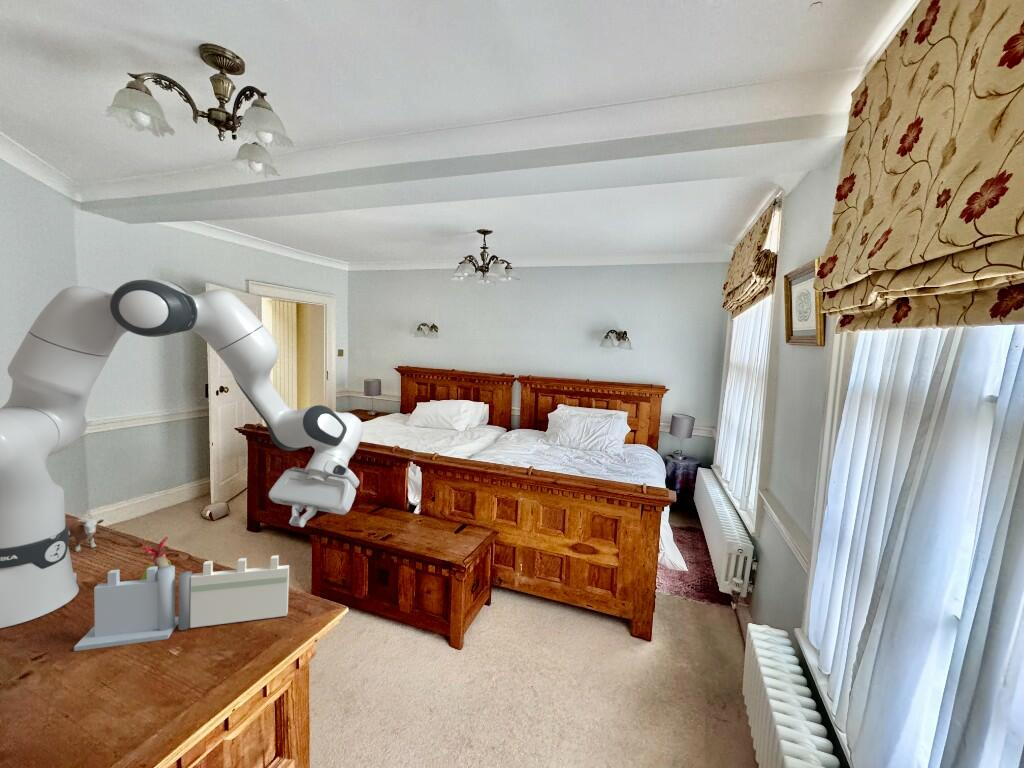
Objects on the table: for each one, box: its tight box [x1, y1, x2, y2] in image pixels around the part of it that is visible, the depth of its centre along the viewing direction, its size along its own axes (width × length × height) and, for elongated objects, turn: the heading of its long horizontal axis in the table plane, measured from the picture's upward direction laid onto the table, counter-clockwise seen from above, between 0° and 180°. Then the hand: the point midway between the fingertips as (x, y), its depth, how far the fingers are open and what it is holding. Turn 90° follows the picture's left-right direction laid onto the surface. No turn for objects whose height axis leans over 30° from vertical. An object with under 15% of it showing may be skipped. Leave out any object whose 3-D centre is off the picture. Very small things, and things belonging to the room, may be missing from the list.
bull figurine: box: [65, 517, 104, 553], centre depth 98 cm, size 4×13×8 cm, turn 78°
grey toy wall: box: [73, 564, 178, 652], centre depth 72 cm, size 13×5×12 cm, turn 109°
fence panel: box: [177, 554, 290, 631], centre depth 78 cm, size 18×2×12 cm, turn 109°
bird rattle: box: [139, 536, 174, 580], centre depth 86 cm, size 6×11×9 cm
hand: (295, 525), depth 93 cm, fingers closed
